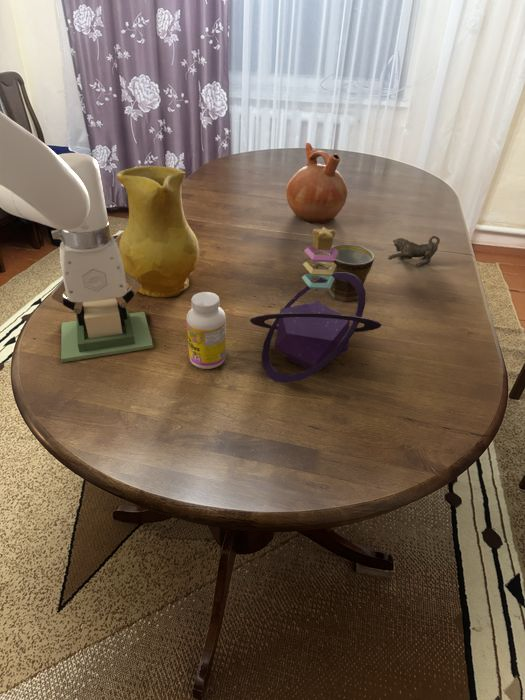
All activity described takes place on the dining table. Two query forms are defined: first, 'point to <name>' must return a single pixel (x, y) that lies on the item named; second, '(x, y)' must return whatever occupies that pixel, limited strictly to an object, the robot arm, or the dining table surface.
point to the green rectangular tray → (104, 339)
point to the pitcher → (157, 231)
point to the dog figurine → (415, 250)
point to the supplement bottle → (206, 331)
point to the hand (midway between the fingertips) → (104, 324)
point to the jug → (317, 188)
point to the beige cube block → (102, 318)
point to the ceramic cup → (350, 269)
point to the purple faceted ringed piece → (314, 318)
